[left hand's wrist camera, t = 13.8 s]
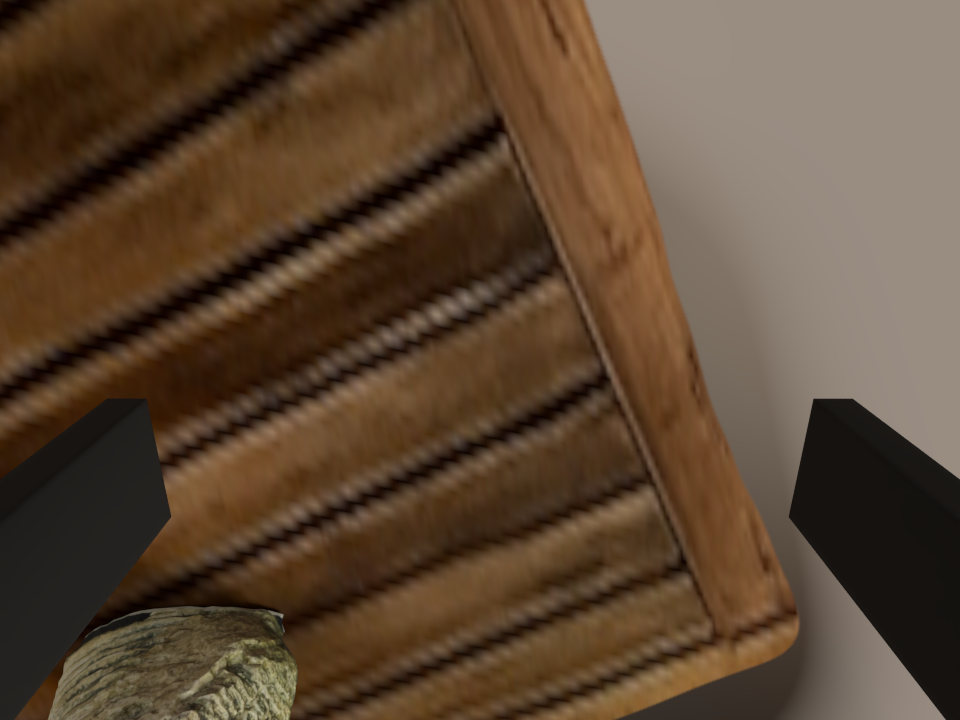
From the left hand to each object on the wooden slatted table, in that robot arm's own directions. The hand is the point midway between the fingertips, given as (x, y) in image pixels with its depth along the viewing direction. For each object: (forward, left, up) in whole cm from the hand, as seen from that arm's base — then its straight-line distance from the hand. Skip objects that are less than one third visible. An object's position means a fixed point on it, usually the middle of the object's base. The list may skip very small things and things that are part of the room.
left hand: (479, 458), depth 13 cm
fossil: (-34, -16, -26) cm, 46 cm away
